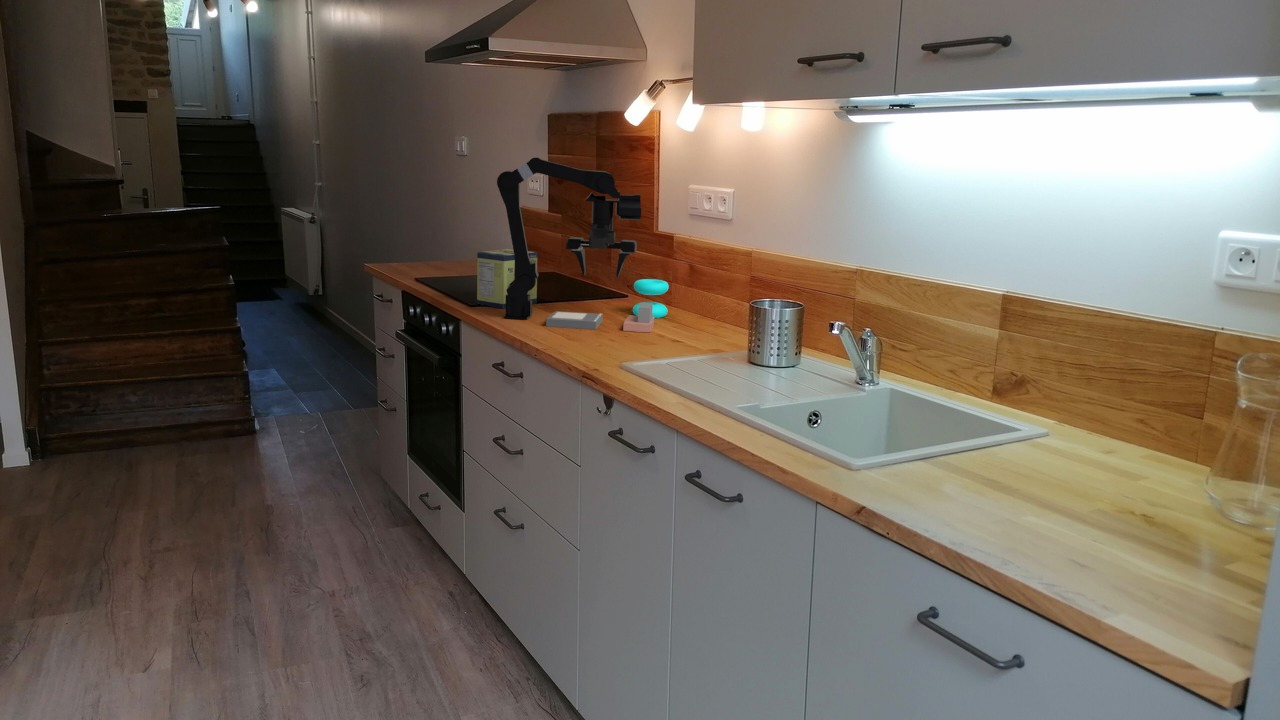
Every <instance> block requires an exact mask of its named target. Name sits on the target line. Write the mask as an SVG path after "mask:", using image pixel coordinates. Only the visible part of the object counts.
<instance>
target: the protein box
mask: <svg viewBox="0 0 1280 720" xmlns="http://www.w3.org/2000/svg"><path fill="white" fill-rule="evenodd" d="M528 255H529V257H530V260H531V262H533V261H536V270H537V271H538V251H532V250H528ZM476 257H477V259H476V260H477V267H476V269H477V274H476V277H477V278H476V280H477V281H476V282H477V283H476V285H477V287H476V288H477V289H476V298H477V299H476V301H477V302H476V304H477V303H479V304H483V305H487V306H486V307H489V306H490V308H495V309H500V310H505V308H506V295H507V291H506V290H507V288H508V285H509V284H510V283H511V282H512V281H513V280H514V268H515V256H514V250H513V248H505V249H495V250H486V251H478V252H477V256H476ZM537 290H538V279H537V280H536V283H535V286H534V287H533V289H531V290H530V291H528V293H527V294H528V295H530V300H532V305H534V304H537V299H538V298H537V297H538V293H537V292H538V291H537Z"/></svg>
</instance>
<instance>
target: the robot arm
mask: <svg viewBox="0 0 1280 720" xmlns="http://www.w3.org/2000/svg"><path fill="white" fill-rule="evenodd" d="M535 174H542V175H545V176H549V177H553V178H556V179H561V180H565V181H569V182H572V183H576V184H579V185H581V186H584V187H586V188H588V189H590V190H593V191H594V192H596V193H599V194H603V195H595V194H594V193H593V191H592V192H590V194H589V195H588V196H587V197H586V198H585V201H586V202H588V203H589V202H591V203H592V205H591V206H592V210H591V213H592V214H591V228H590V229H591V230H590V231H589V235H588V240H585V239H584V237H579V236H578V237H576V236H575V237H574V236H571V237H569V238H568V239H566V242H565V243H566V244H565V249H566V250H570V253H573V254H575V256H576V258H577V260H578V263H579V267H580V270H581V272H582V276H586V271H587V270H586V252H585V251H586V249H585V248H589V249H591V250H594V249H600V250H606V249H614V250H619V251H620V252H619V253H618V262H617V267H616V278H619V276H620V273H621V271H622V269H623V266H624V263H625V261H626V259H627V257H628V256H631V255H632V254H633V253H636V252H637V249H638V242H637V241H636V240H635V239H631V240H630V239H622V240H621V241H620V242H619V241H618V242H617V241H616V231H615V230H614V208H615V216H617V217H619V220H623V221H625V220H626V221H641V218H642V207H641V205H642V204H641V202H642V201H641V197H642V196H641V194H620V193H621V191H620V190H618V189H617V188H616V186H615V184H616V181H615V178H614V176H613V174H611V173H610V172H608V171H604V170H602V171H601V170H591V169H590V170H589V169H580V168H576V167H572V166H568V165H565V164H561V163H557V162H552V161H549V160H546V159H542V158H540V157H539V156H537V157H532V158H530V159H529V161H527V162H525V163H524V164H522V165H520V166H519V167H517V168H516V169H514V170H505V171H503V172H501V173H500V174H499V175H498V177H497V178H496V186H497V188H498V191H499V193H500V196H501V199H502V201H503V204H504V206H505V209H506V214H507V215H506V216H507V220H508V227H509V232H510V238H511V244H512V249H513V250H514V256H515V268H514V280H513V281H512V282H511V283H510V284H509V285H508V288H507V290H506V291H507V295H506V308H505V309H504V310H505V312H504V313H505V314H504V315H503V319H511V320H512V319H513V320H514V319H515V320H528V319H530V318H531V317H532V316H533V304H532V300H530V295H528V294H527V293H528V291H530V290H531V289H533V287H534V286H535V283H536V280H537V281H538V278H539V272H538V269H537V270H536V261H533V262H531V260H530V257H529V255H528V251H529V250H528V245H527V239H526V234H525V233H526V232H525V228H524V222H523V217H522V211H521V183H522V182H524V181H525V180H527V179H528V178H531V177H532V176H534V175H535ZM606 195H608V196H610V197H611V198H612V199H607V197H606ZM614 204H615V207H614Z"/></svg>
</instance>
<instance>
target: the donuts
mask: <svg viewBox="0 0 1280 720" xmlns="http://www.w3.org/2000/svg"><path fill="white" fill-rule="evenodd" d="M669 288H670V286H669V283H668V282H667V281H665V280H662V279H654V278H652V279H651V278H647V279H646V278H643V279H638V280H636V281H635V282H634V283H633V289H634V290H635V291H636V292H637V293H639V294H640V295H647V296H658V295H663V294H665V293H666V292H668V290H669ZM641 303H653V309H652V317H655V319H659V318H664V317H666V316H667V315H668V312H669V310H668V308H667V307H666V305H664V304H663V303H660V302H656V301H655V302H654V301H642V302H638V303H636V304H634V306H633V308H632V313H633V315H634V316H638V307H639V306H640V304H641Z"/></svg>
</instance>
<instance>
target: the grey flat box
mask: <svg viewBox="0 0 1280 720" xmlns="http://www.w3.org/2000/svg"><path fill="white" fill-rule="evenodd" d="M603 317H604V314H603V313H594V312H593V313H592V312H577V311H576V312H572V311H561V310H560V311H559V310H558V311H557V310H555V311H554V312H552V313H551V314H550V315H549V316H548V317H547V318H546V319H545V320H546V321H545V323H546V324H545V327H552V328H567V329H568V328H569V329H583V330H597V329H598V327H599V326H600V325H601V323H602V322H603V321H604V320H603Z"/></svg>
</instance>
